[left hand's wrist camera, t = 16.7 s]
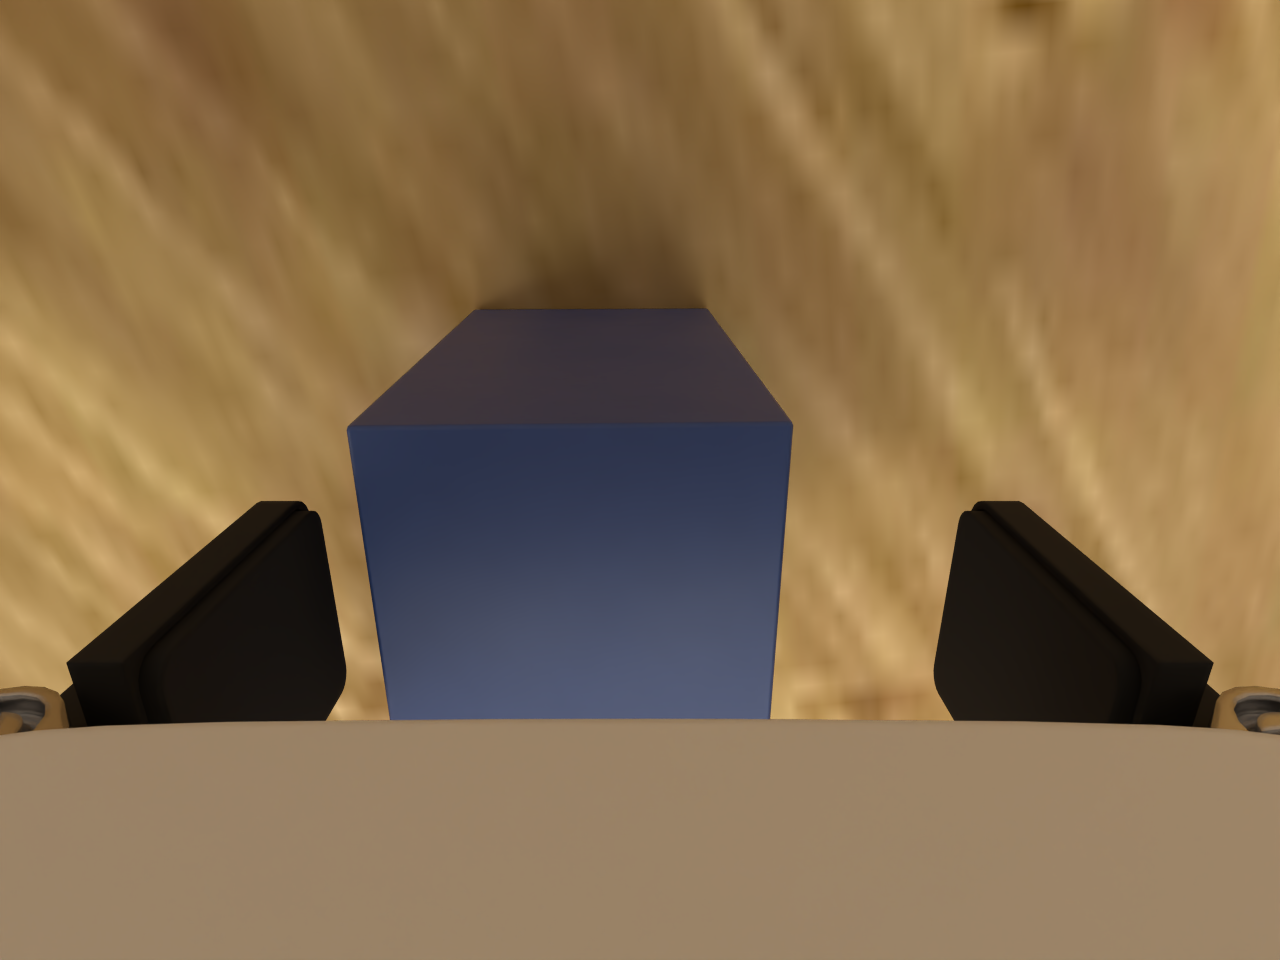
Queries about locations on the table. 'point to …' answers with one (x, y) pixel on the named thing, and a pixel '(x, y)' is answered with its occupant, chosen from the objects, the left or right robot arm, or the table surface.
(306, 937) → the left robot arm
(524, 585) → the block
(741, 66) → the table surface
